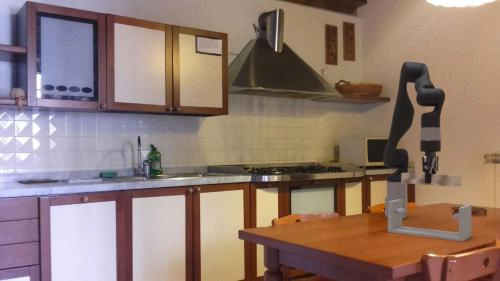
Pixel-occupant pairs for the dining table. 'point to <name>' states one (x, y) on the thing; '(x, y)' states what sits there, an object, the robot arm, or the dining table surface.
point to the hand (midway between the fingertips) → (430, 182)
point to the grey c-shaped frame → (396, 227)
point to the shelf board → (435, 179)
